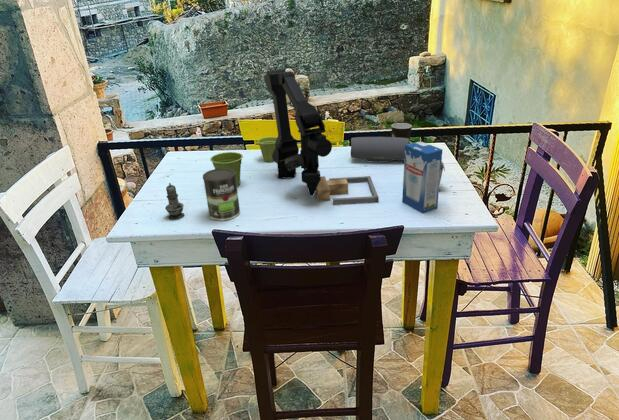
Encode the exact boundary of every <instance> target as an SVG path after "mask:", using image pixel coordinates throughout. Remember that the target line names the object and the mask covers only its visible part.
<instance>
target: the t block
mask: <svg viewBox="0 0 619 420" xmlns="http://www.w3.org/2000/svg"><path fill="white" fill-rule="evenodd" d="M320 177H321V181H320V182H319V184H318V186H317V188H316V190H315V194H316V197H317V198H316V199H317V201H318V202H327V201H329V202H330V201H331V196H336V195H337V196H338V195H348V194H349V183H348V182H347V180H346V179H339V180H329V179H328V180H327V178H326V176H325V175H323V176H320Z"/></svg>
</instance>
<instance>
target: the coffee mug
mask: <svg viewBox="0 0 619 420" xmlns="http://www.w3.org/2000/svg"><path fill="white" fill-rule="evenodd" d="M390 126H391V137H398V138H408V139H409V141H410V140H411V134H412V128H413V125H412V124H410V123H407V122H397V123H391V125H390Z"/></svg>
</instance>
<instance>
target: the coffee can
mask: <svg viewBox="0 0 619 420" xmlns="http://www.w3.org/2000/svg"><path fill="white" fill-rule="evenodd" d="M202 179H203V185H204V190H205V196H206V197H205V198H206V205H207V208H208V215H209V218H210V219H211V220H214V221H218V222H219V221H220V222H221V221H222V222H223V221H231V220H233V219H234V218H237V217H238V216H239V215H240V214H241V210H240V209H241V208H240V201H239V194H238V186H237V183H236V173H235V171H234V170H232V169H226V168H221V169H215V168H214V169H210V170H208V171H206V172H204V173H203V174H202Z"/></svg>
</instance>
